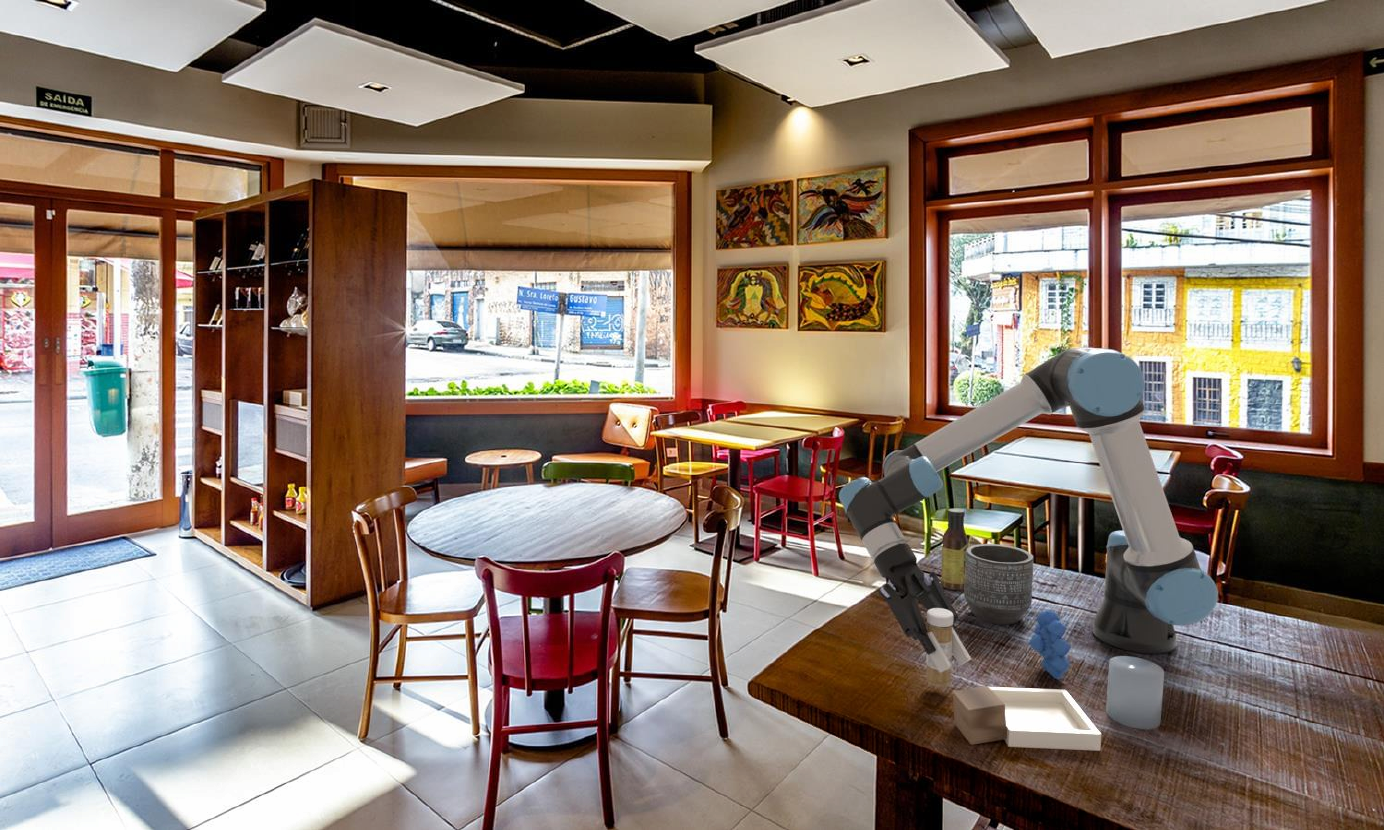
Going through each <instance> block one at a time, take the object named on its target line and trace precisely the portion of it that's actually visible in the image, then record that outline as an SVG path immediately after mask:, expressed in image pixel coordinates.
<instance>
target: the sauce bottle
mask: <svg viewBox="0 0 1384 830" xmlns="http://www.w3.org/2000/svg"><path fill="white" fill-rule="evenodd" d="M965 515H966V513H965V510H964V509H961V508H948V509H947V520H948V521H947V529H946V530H945V532H944V533H943V535H942V546H941V547H942V548H941V575H940V576H941V578H940V579H941V587H942V588H945V589H947V590H950V591H964V583H965V562H966V549H967V548H968V547H969V546H970V545H969V539H968V536H967V532H966V529H965V526H964V525H965V522H964V521H965Z"/></svg>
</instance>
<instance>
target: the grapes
mask: <svg viewBox="0 0 1384 830" xmlns="http://www.w3.org/2000/svg"><path fill="white" fill-rule="evenodd" d="M1035 621H1036V622H1037V623H1038V624H1037V625H1036V627H1035V629H1034V630H1033V633H1034V635H1032V636H1031V638H1030V640H1029V642H1028V644H1029V646H1030V647H1031V649H1032V650H1034V651H1035V652H1037V653H1038V654H1039V656H1041V657H1042V658H1043V659H1042V660H1041V663H1040V665H1041V667H1042V668H1043V669H1044V670H1045V671H1046V672H1047V673H1049V674H1050V676H1052V677H1053V678H1054V679H1055V680H1056V679H1057V680H1060V679H1062V678H1063V676H1064V675H1065V672H1067V671H1068V669H1069V668H1070V666H1071V662H1070V660H1068V658H1067V657H1066V656H1067V655H1068V653H1069V651H1070V650H1071V645H1070V644H1069V643H1068V642H1067V640H1066V639H1064V638H1063V637H1064V635H1065V633H1066V631H1067V628H1066V626H1065V624H1063V623H1062V622H1061V621H1060V617H1059V616H1058V614H1057V613H1056V612H1054V611H1053V610H1052V609H1047V610H1042V611H1041V612H1039V614H1038V615H1037V617H1036V620H1035Z"/></svg>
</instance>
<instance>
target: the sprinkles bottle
mask: <svg viewBox="0 0 1384 830" xmlns="http://www.w3.org/2000/svg"><path fill="white" fill-rule="evenodd" d="M926 624H927V634H928V633H929V632H933V634H934V636H935V637H936V639H937V641H938V643H939V644H940V646H941V648H942V650H943V651H944V653H945V655H946V657H947V658H948V660H949V662H950V664H951V665H952V663H953V662H952V659H953V654H952V626H953V613H952V612H951V611H949V610H947V609H942V608H932V609H929V610H926ZM925 653H926V652H925ZM925 656H926V657H925V661H926V662H925V663H926V664H925V665H926V672H925V673H926V675H925V680H926V682H927V683H928V684H930V685H931V686H933V687H937V688H944V687H945V688H946V687H948V686H950V685H951V684H952V666H953V665H952V666H951V667H949V668H948V669H946V670H945V671H943V672H941V673H940V672H939V670H938V669H937V667H936V665H935V663H934V661H933V660H932V658H931V656H930V654H929V655H928V654H927V653H926V655H925Z"/></svg>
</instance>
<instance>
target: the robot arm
mask: <svg viewBox="0 0 1384 830" xmlns="http://www.w3.org/2000/svg"><path fill="white" fill-rule="evenodd" d="M1144 390H1145V378H1144V374H1143V372H1142V370H1141V367H1140V366H1139V364H1137V363H1136V361H1135V360H1133V358H1131V357H1130V356H1128V355H1126V354H1124V353H1122V352H1120V351H1119V350H1116V349H1111V348H1105V347H1104V348H1099V347H1098V348H1097V347H1095V348H1094V347H1090V346H1076V347H1071V348H1069V349H1066V350H1064V351H1062V352H1059V353H1058V354H1056V355H1054V356H1052V357H1051V358H1049V359H1048V360H1046V361H1044V362H1043V363H1041V364H1040V365H1038V366H1036V367H1035V368H1033V369H1032V370H1029V371H1028V372H1026V373H1025V374H1023V375H1022V378H1021V381H1020V382H1018V383H1017V384H1015V385H1014V386H1012V387H1010V388H1008V389H1007V390H1005V391H1003V392H1002V393H1000V394H998V395H995V397H993V398H991V399H990V400H988V401H986V402H984V403H982V404H981V405H979V406H977V407H975V408H974V409H972V410H970V411H969V412H967V413H965V414H964V415H962V416H960V417H958V418H956V419H955V420H953V421H952V422H950V423H948V424H946V425H945V426H943V427H941V428H940V429H938V430H936V431H934V432H932V433H931V434H929V435H927V436H926V437H924V438H922V439H920V440H919V441H917V442H915V443H913V444H911V445H910V446H908V447H907V448H904V449H903V450H899V449H898V450H894V451H891V452H890V453H889V454H888V455H887V456H886V457H885V458H884V460H883V464H882V470H883V472H882V473H883V476H884V477H882V478H880V479H878V480H877V481H874V482H873V481H871V479H870V478H868V477H865V476H862V477H858V478H857V479H853V480H851V481H849V482H847V483H846V484H845V485H844V486H843V487H842V488H840V491H839V492H838V493H839V494H838V498H839V501H840V503H841V505H842V507H843V509H844V511H845V514H846V516H847V517H848V519H849V521H850V522H851V524H852V526H853V528H854V529H855V531H856V533H857V535H858V537H859V538H860V540H861V542H862V543H863V546H864V547H865V549H866V551H867V553H868V554H869V556H870V558H871V559H874V560H873V563H874V565H875V567H876V569H877V571H878V572H879V574H880V576H881V577H882V578H884V579H885V584H884V585H883V586H882V587H881V588H879V589H878V594H879V595H880V597H882V598H883V600H885V601H886V603H887V605H888V607H889V608H890V611H891V612H892V614H893V615H894V617H895V619H896V621H897V622H898V624H899V627H900V628H901V630H902V631H903V633H904V635H905V637H906V638H908V639H909V638H911V637H912V639H913V640H914V641H919V642H920V644H921V646H922V648H923V649H924V652H925V653H927V654H928V655H929V654H930V656H931V658H932V660H933V661H934V663H935V665H936V667H937V669H938V670H939V672H940V673H941V672H943V671H945V670H946V669H948V668H949V667H951V668H952V666H953V665H951V664H950V662H949V660H948V658H947V657H946V655H945V653H944V651H943V650H942V648H941V646H940V644H939V643H938V641H937V639H936V637H935V636H934V634H933V632H929V633H928V634H927V631H928V627H927V626H926V623H925V620H924V617H923V615H922V613H921V610H920V606H919V604H918V603H917V601H919V602H920V603H921V604H922V605H923V607H924V608H925V609H926V611H928V610H929V609H932V608H942V609H947V610H949V611H951V612H952V613H953V626H952V656H953V657H954V659H955V660H956V663H957V664H958V666H959V667H961V666H963V665H964V664H966V663H968V662H969V661H970V660H972V658H971V656H970V654H969V653H968V651H967V649H966V647H965V646H964V643H963V639H962V637H961V635H960V633H959V632H958V630H957V628H956V626H955V624H956V623H957V622H958V621H957V620H959V619H960V616H959V615H958V613H957V611H956V609H955V607H954V606H953V604H952V602H951V601H950V599H949V597H948V595H947V594H946V592H945V590H944V589H943V588H944V587H943V586H942V584H941V583H940V581H939V576H938V574H937V572H935V571H932V572H930V573H928V572H927V573H926V572H924V571H923V569H921V568H920V567H919V566H918V564H917V563H918V562H917V560H918V559H917V556H916V555H915V553H914V551H913V550H912V547H911V546H910V545H909V544H908V543H906V542H907V540H906V538H905V536H904V534H903V532H902V531H901V529H900V528H899V526H898V524H897V523H896V521H895V519H894V516H896V515H898V514H899V513H901V512H903V511H904V510H907V509H908V508H910V507H913V506H914V505H916V504H918V503H920V502H922V501H924V500H925V499H928V498H930V497H932V496H933V495H934V494H935V493H937V492H939V490H941V489H943V487H944V482H943V480H942V478H941V477H940V475H939V473H938V472H940V471H941V470H943V469H945V468H947V467H948V466H950V465H952V464H954V463H956V462H957V461H959V460H961V459H963V458H965V457H966V456H968V455H970V454H972V453H974V452H975V451H976V450H979V449H981V448H982V447H984V446H986V445H988V444H989V443H992V442H994V441H995V440H997V439H998V438H1000V437H1002V436H1004V435H1005V434H1006V435H1007V433H1009V432H1011V431H1013V430H1015V429H1016V428H1019V427H1020V426H1022V425H1024V424H1025V423H1027V422H1029V421H1030V420H1033V419H1034V418H1036V417H1037V416H1040V415H1041V414H1046V415H1048V416H1049V415H1052V414H1053V413H1055V412H1057V411H1059V410H1062V409H1064V408H1067V407H1069V408H1070V411H1071V414H1072V417H1073V419H1074V422H1075V426H1076V427H1077V429H1078V430H1081V431H1083V432H1086V433H1087V434H1088V436H1089V438H1090V442H1091V444H1092V446H1093V449H1094V453H1095V455H1096V458H1097V460H1098V463H1099V467H1100V469H1101V471H1102V475H1103V477H1104V480H1105V483H1106V486H1107V489H1108V491H1109V495H1110V497H1111V500H1112V503H1113V506H1114V508H1115V511H1116V514H1117V517H1118V519H1119V524H1120V525H1121V528H1122V530H1115V531H1112V532H1110V534H1109V535H1108V538H1107V539H1108V540H1107V545H1106V546H1105V547H1106V558H1105V559H1106V561H1105V575H1104V576H1105V577H1104V579H1105V581H1104V595H1103V600H1102V602H1101V604H1100V605H1099V608H1098V610H1097V612H1096V614H1095V616H1094V618H1093V621H1092V633H1093V635H1094V636H1095V637H1096V638H1097V639H1099V640H1100V641H1102V642H1104V643H1105V644H1108V645H1109V646H1113V647H1115V648H1118V649H1121V650H1124V651H1125V650H1126V651H1129V652H1135V653H1139V654H1166V653H1169V652H1172V651H1174V650H1175V649H1176V646H1177V644H1176V643H1177V642H1176V641H1177V634H1176V630H1175V628H1174V626H1181V627H1182V626H1191V625H1195V624H1197V623H1199V622H1201V621H1203V620H1205V619H1206V618H1207V617H1208V616H1209V615H1210V614H1211V612H1212V611H1213V609H1215V607H1216V606H1217V603H1218V599H1219V590H1218V588H1217V585H1216V583H1215V581H1214V580H1213V579H1212V577H1211V576H1210V575H1209V573H1207V572H1206V571H1204V570H1202V568H1201V566H1200V563H1199V560H1198V557H1197V553H1196V552H1195V549H1194V546H1193V543H1192V542H1190V541H1189V540H1187V539H1185V538H1182V537H1181V536H1180V535H1179V531H1178V528H1177V526H1176V522H1175V519H1174V517H1173V515H1172V512H1171V509H1170V506H1169V502H1168V499H1167V497H1166V494H1165V491H1164V488H1163V485H1162V483H1161V480H1160V478H1159V475H1158V471H1157V468H1156V465H1155V463H1154V459H1153V457H1152V453H1151V452H1150V451H1151V450H1150V448H1149V445H1148V443H1147V441H1146V437H1145V435H1144V431H1143V428H1142V426H1141V423H1140V419H1141V417H1142V416H1143V414H1144V413H1145V411H1146V408H1145V405H1144V401H1143V400H1142V396H1143V393H1144Z"/></svg>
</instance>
